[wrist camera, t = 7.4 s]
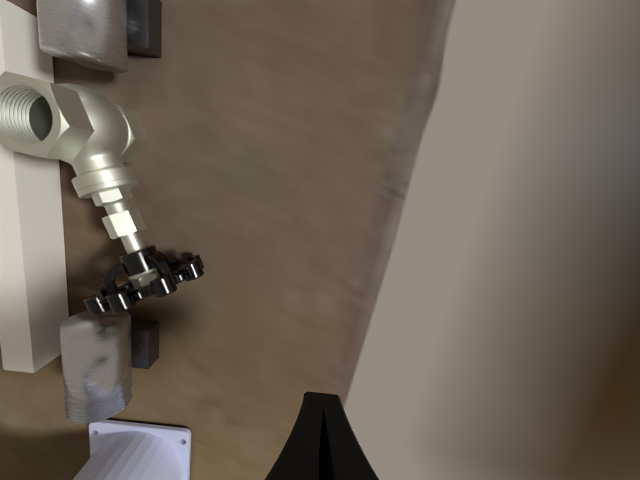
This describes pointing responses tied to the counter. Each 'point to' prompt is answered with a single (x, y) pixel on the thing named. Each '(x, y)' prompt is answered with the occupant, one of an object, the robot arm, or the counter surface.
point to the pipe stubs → (108, 328)
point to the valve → (93, 175)
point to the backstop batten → (29, 221)
